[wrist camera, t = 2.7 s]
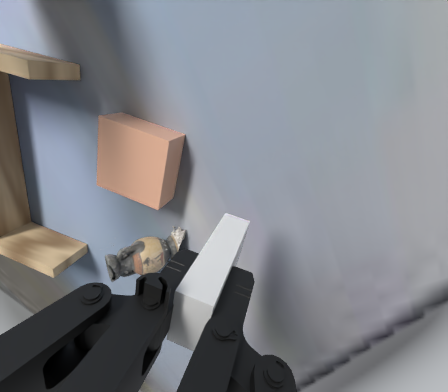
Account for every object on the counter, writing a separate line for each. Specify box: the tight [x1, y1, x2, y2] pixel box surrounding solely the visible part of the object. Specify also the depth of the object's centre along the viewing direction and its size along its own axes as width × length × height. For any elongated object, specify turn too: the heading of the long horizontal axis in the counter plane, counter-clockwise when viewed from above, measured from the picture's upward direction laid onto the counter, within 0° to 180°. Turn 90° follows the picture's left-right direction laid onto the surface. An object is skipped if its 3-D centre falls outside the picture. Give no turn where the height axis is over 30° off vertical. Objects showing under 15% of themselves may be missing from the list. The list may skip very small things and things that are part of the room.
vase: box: [105, 226, 186, 282], centre depth 24 cm, size 5×5×6 cm
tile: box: [97, 112, 185, 210], centre depth 22 cm, size 6×6×3 cm
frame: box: [0, 44, 87, 278], centre depth 25 cm, size 9×20×4 cm, turn 168°
